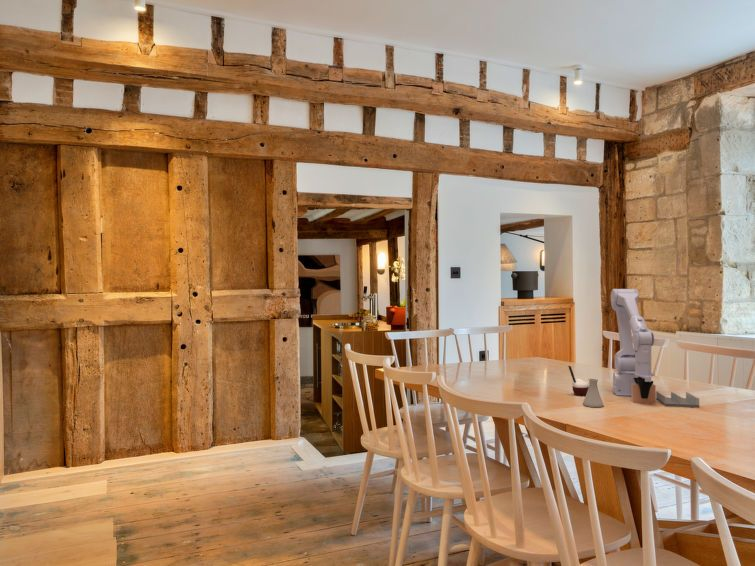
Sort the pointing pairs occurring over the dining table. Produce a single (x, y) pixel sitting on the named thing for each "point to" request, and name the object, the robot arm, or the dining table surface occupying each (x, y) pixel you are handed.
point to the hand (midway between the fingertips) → (643, 397)
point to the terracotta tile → (637, 396)
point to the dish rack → (678, 400)
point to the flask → (593, 395)
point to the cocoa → (578, 385)
